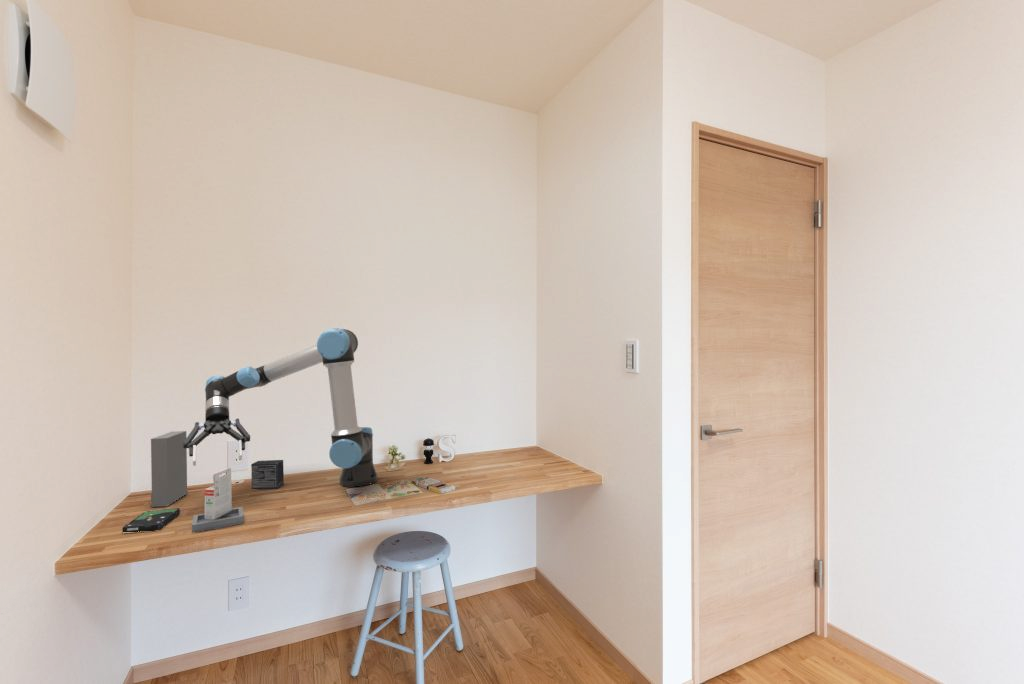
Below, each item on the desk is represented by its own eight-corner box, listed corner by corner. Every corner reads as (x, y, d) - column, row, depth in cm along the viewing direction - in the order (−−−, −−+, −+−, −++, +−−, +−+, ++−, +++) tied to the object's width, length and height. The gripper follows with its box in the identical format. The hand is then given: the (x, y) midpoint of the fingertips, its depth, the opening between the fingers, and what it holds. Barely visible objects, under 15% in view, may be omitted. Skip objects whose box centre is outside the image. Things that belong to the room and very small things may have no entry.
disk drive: (160, 532, 148) (180, 515, 162) (160, 523, 148) (180, 507, 162) (121, 536, 145) (145, 518, 159) (121, 527, 145) (145, 510, 159)
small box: (284, 484, 195) (284, 459, 195) (278, 489, 188) (277, 463, 188) (258, 485, 194) (258, 459, 194) (250, 490, 187) (250, 464, 187)
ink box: (203, 519, 150) (203, 474, 150) (222, 510, 158) (221, 467, 158) (214, 520, 149) (213, 474, 149) (232, 511, 157) (231, 468, 157)
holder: (242, 514, 161) (242, 506, 161) (243, 523, 153) (243, 515, 153) (193, 522, 154) (193, 515, 154) (192, 533, 145) (192, 525, 145)
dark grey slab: (170, 495, 182) (169, 431, 182) (187, 494, 183) (186, 430, 183) (149, 508, 168) (148, 439, 168) (167, 506, 169) (166, 438, 169)
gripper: (255, 414, 183) (258, 460, 171) (177, 421, 170) (174, 472, 157) (255, 402, 179) (259, 449, 166) (175, 408, 165) (172, 459, 153)
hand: (218, 460), depth 162 cm, fingers open, 13 cm apart
